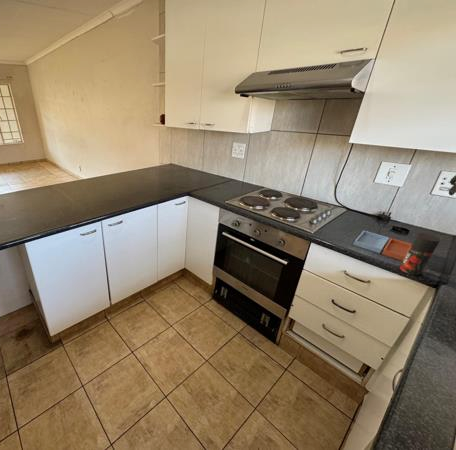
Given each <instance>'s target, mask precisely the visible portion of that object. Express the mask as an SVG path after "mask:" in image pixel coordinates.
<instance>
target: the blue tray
mask: <svg viewBox="0 0 456 450" xmlns="http://www.w3.org/2000/svg"><path fill="white" fill-rule="evenodd" d="M389 240H390V237H389V236H385V235H382V234H378V233H375V232H371V231H367V230H362V232H361V233H360V234H359V235H358V236H357V237H356V239H355V240H354V242H353V244H352V245H353V246H356V247H359V248H362V249H366V250H369V251H372V252H374V253H377V254H382V252H383V250H384V248H385V247H386V245H387V243H388V242H389Z"/></svg>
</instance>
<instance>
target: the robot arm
mask: <svg viewBox="0 0 456 450" xmlns="http://www.w3.org/2000/svg"><path fill="white" fill-rule="evenodd" d="M449 182H450V186H451V187H450V188H449V189H448V195H449V196H454V195H455V194H456V174H455V175H454V176H452V178H451V179H450V181H449Z"/></svg>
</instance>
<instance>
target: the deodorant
mask: <svg viewBox="0 0 456 450" xmlns="http://www.w3.org/2000/svg"><path fill="white" fill-rule="evenodd" d="M440 242H441V239H440V238H439V237H438V236H436V235H432V234H429V233H423V232H421V233H417V234H416V236H415V238H414V240H413V242H412V243H411V244H412V245H411V247H410V249H409V251H408V253H407V255H406V256H405V258H404V260H403V261H402V262H401V264H400V266H399V270H401V271H402V272H404V273H406V274H408V275H411V276H420V275H421V274H422V272H423V270H424V268H426V265H427V264H428V262H429V260H430V259H431V257H432V256H433V254H434V252H435V250H436V248H437V247H438V245H439V243H440Z"/></svg>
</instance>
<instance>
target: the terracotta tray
mask: <svg viewBox="0 0 456 450" xmlns="http://www.w3.org/2000/svg"><path fill="white" fill-rule="evenodd" d="M411 245H412V243H410V242H405V241H403V240H399V239H396V238H392V237H390V238H389V240H388V242H387V243H386V245H385V246H384V248H383V249H382V251H381V255H383V256H387V257H388V258H389V257H390V258H393V259H396V260H399V261H402V262H403V260H404V258H405V256H406V255H407V253H408V251H409V249H410V247H411Z"/></svg>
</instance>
